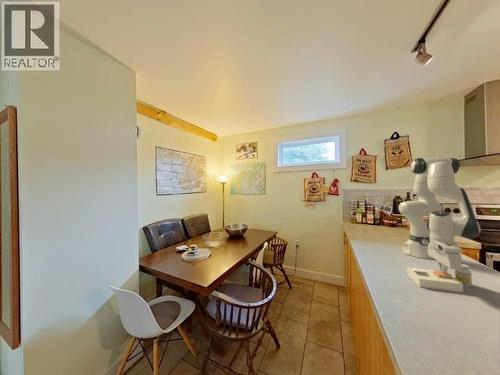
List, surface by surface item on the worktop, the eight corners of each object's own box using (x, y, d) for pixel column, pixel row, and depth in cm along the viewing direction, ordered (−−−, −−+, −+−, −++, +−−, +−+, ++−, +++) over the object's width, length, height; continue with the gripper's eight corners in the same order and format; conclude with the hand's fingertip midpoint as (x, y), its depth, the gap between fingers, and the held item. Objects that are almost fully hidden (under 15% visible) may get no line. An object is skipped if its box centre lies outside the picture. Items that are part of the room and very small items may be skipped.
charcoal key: (414, 277, 100) (414, 272, 100) (426, 279, 98) (426, 273, 98) (419, 282, 95) (418, 276, 95) (431, 283, 93) (431, 277, 93)
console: (407, 274, 104) (407, 267, 104) (444, 278, 99) (444, 271, 99) (419, 286, 91) (419, 278, 91) (463, 292, 86) (462, 283, 86)
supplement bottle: (465, 287, 89) (464, 267, 90) (452, 282, 95) (451, 263, 95) (475, 286, 90) (474, 267, 90) (461, 281, 95) (460, 262, 95)
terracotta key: (433, 275, 97) (433, 270, 97) (445, 277, 95) (445, 271, 95) (439, 280, 92) (438, 274, 92) (452, 281, 90) (452, 275, 90)
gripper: (423, 238, 104) (424, 262, 104) (446, 249, 85) (447, 279, 85) (437, 239, 102) (438, 264, 102) (464, 250, 83) (466, 281, 83)
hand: (443, 271), depth 93 cm, fingers closed
